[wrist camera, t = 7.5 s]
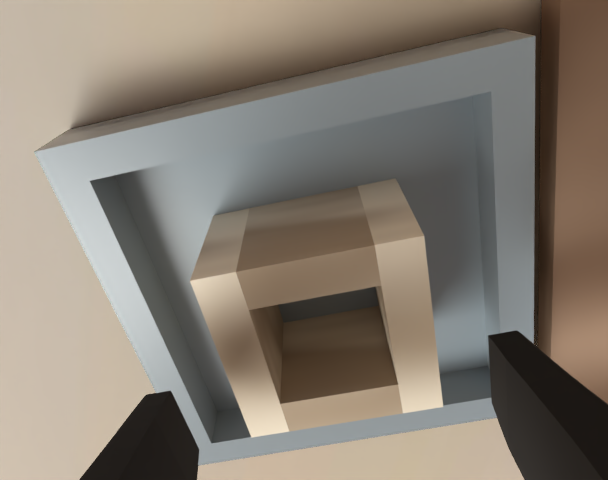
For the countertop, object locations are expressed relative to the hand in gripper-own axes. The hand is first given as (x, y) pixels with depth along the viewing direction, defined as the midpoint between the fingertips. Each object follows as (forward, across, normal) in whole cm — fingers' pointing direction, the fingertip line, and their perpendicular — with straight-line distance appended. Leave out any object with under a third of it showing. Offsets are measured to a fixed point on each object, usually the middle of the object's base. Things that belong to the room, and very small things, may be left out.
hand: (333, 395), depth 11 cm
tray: (+6, 0, 0) cm, 6 cm away
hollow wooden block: (+5, 0, 0) cm, 5 cm away
